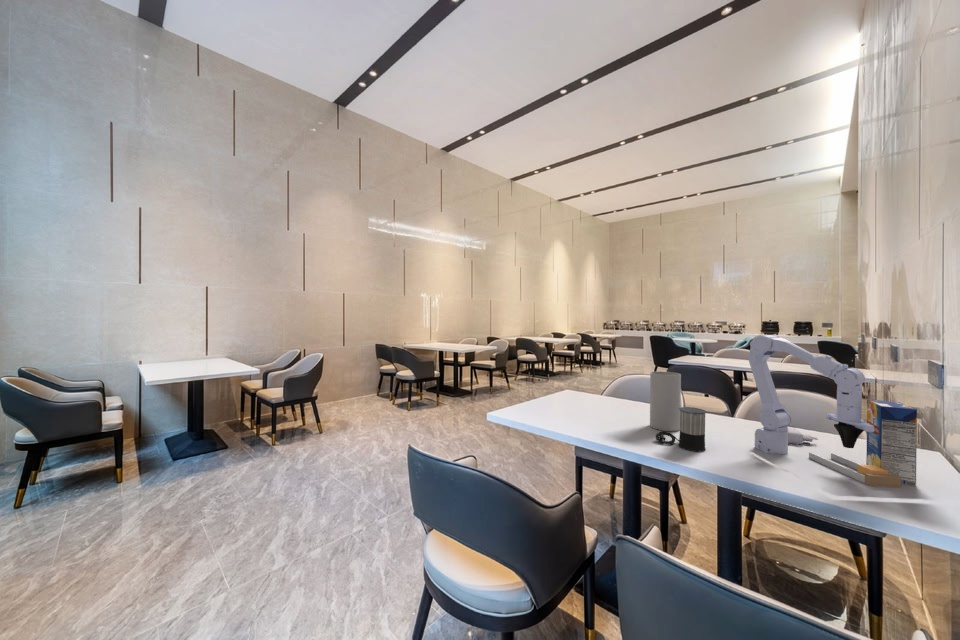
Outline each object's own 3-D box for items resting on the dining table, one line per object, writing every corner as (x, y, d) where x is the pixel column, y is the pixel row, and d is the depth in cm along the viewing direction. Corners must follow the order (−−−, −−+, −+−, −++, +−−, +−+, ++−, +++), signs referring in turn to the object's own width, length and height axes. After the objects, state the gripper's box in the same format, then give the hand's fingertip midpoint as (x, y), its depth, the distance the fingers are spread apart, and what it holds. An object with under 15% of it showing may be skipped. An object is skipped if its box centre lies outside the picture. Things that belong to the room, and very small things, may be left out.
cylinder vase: (670, 423, 175) (670, 371, 175) (686, 431, 163) (687, 375, 163) (644, 424, 174) (645, 371, 174) (659, 432, 162) (659, 375, 162)
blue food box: (866, 471, 123) (867, 399, 123) (898, 476, 119) (899, 402, 119) (880, 484, 112) (880, 406, 112) (916, 490, 108) (917, 409, 108)
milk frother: (711, 452, 138) (711, 412, 138) (668, 451, 138) (669, 412, 138) (690, 439, 152) (690, 404, 152) (651, 439, 152) (652, 403, 152)
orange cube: (871, 483, 110) (871, 470, 110) (857, 477, 114) (857, 464, 114) (888, 484, 109) (888, 471, 109) (873, 477, 114) (873, 465, 114)
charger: (821, 448, 144) (772, 441, 151) (813, 441, 152) (768, 435, 159) (821, 436, 144) (772, 430, 151) (813, 430, 152) (768, 424, 159)
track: (869, 489, 108) (869, 475, 108) (808, 460, 130) (808, 449, 130) (900, 490, 108) (900, 476, 108) (833, 461, 130) (833, 450, 130)
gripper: (885, 411, 112) (884, 456, 112) (841, 401, 126) (841, 440, 127) (860, 411, 113) (859, 455, 113) (820, 400, 127) (819, 439, 127)
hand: (848, 447), depth 120 cm, fingers closed
